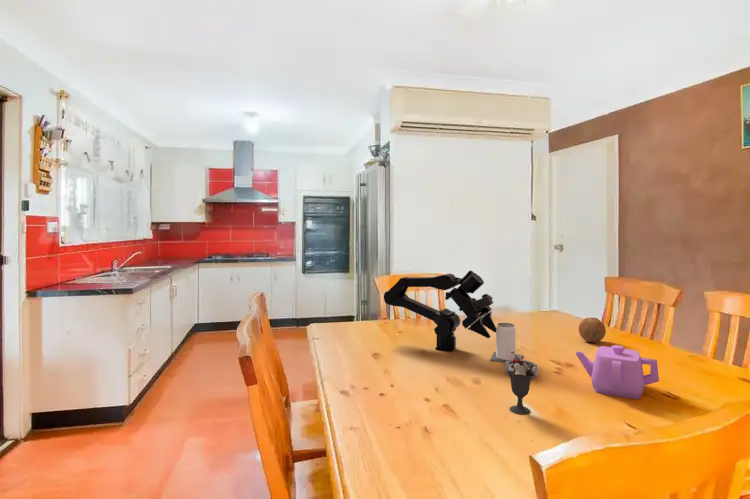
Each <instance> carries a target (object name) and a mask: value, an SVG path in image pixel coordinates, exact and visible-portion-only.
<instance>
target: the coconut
mask: <svg viewBox="0 0 750 499" xmlns="http://www.w3.org/2000/svg"><path fill="white" fill-rule="evenodd" d="M606 332H607V330H606V326H605V324H604V323H603V322H602V321H601V320H600V319H599V318H597V317H587V318H586V317H585V318H584V319H583V320H581V321H580V323H579V325H578V333H579V336H580V337H581V338H582V339H583V340H584V341H585V342H587V343H598V342H601V341H602V340H603V339H604V337H606Z"/></svg>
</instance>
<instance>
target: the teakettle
mask: <svg viewBox="0 0 750 499" xmlns="http://www.w3.org/2000/svg"><path fill="white" fill-rule="evenodd" d="M575 355H576V357H577V358H578V360H579V361H580V363H581V364H582V366H583V367H584V369H585V371H586V372H587V374H588V376H589V377H590V378H591V383H592V387H593V390H594V392H595V393H598V392H599V394H603V393H604V395H609V396H614V397H620V398H624V397H625V399H631V400H640V398H641V397H642V394H643V392H644V388H645V386H648V385H650V384H651V385H652V384H654V383H658V382H660V378H659V377H660V376H659V368H658V367H659V366H658V359H652V358H647V357H641V355H640V352H639V351H637V350H633V349H628V348H625V347H624V346H623V345H616V344H615V345H611V346H603V345H602V346H599V347H598V348H597V350H596V352H595V356H594V359H593V362H592V361H591V360H590V359H589V358H588V356H587V355H585V353H584V352H583V351H581V350H580V351H575ZM643 365H647V366H650V369H649V370H650V371H649V372H650V373H648V374H645V375H644V368H643Z"/></svg>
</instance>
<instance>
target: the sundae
mask: <svg viewBox="0 0 750 499" xmlns="http://www.w3.org/2000/svg"><path fill="white" fill-rule="evenodd" d="M511 353H512V354H513V353H514V352H511ZM514 354H515V355H516V354H517V353H516V352H515V353H514ZM515 355H514V356H515ZM516 357H517V356H516ZM512 362H513V364H511V365H510V367H509V369H508V370H507V372H508V374H509V375H510V376H509V378H510V387H511V392H512V393H513V395H515V396H516V397H517V401H516V402H517V403H516V404H515V405H512V406H510V407H509V410H510V412H512V413H513V412H514V414H515V415H521V414H522V415H523V416H524V414H525V415H529V414H530V413H531V409H529V408H528V407H526V406H524V404H523V399H524V398H525V397H527V395H529V391H530V388H531V387H530V386H531V380H532V379H531V377H532V376H534V371H532V368H533V366H532V367H531V368H530V369H528V365H527V364H526V363H525V362H523V361H521V360H520V359H518V357H517V360H515V359H514V360H512ZM528 413H529V414H528Z"/></svg>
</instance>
